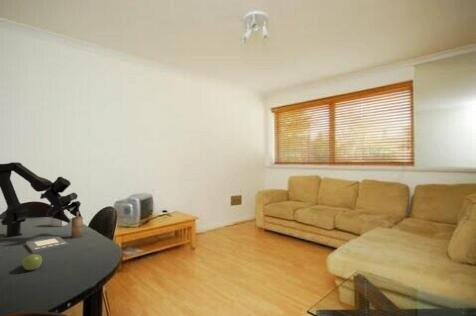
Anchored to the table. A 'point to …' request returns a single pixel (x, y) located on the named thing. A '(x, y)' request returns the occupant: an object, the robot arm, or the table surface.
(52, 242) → the grey flat block
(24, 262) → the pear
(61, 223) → the medicine box
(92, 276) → the table surface
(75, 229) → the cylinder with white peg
